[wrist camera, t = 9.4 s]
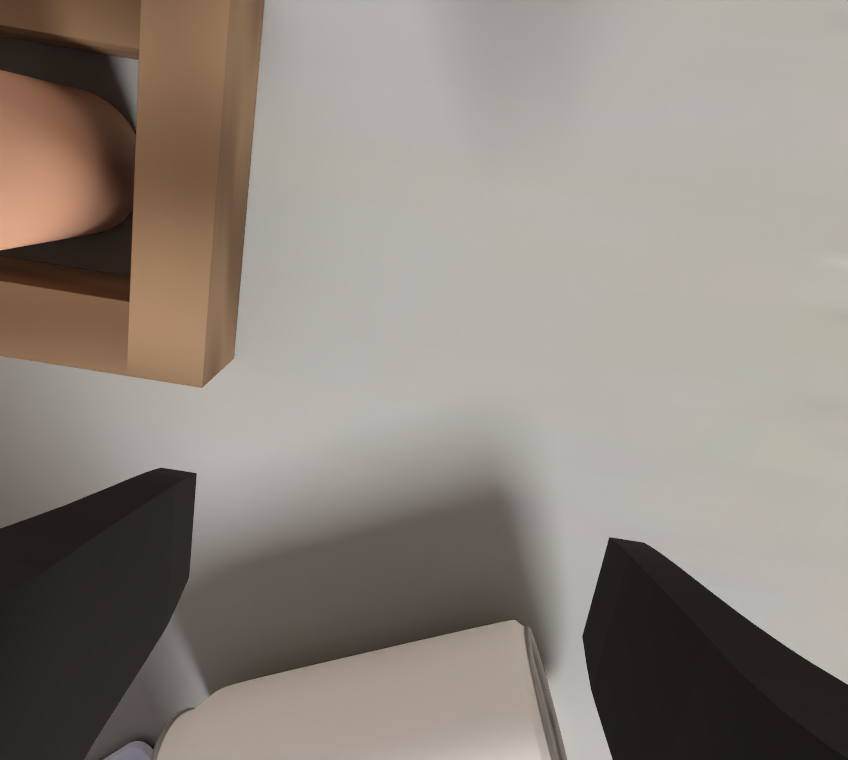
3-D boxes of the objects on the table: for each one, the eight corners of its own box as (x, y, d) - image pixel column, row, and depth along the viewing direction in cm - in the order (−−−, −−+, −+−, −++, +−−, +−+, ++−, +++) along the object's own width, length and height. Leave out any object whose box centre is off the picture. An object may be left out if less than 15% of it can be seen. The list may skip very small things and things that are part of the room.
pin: (73, 261, 20) (-102, 305, 14) (-27, 147, 19) (-267, 133, 13) (173, 178, 20) (39, 180, 13) (74, 55, 19) (-125, -11, 12)
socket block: (233, 358, 21) (201, 387, 18) (-95, 305, 21) (-179, 326, 18) (264, 0, 18) (232, -32, 15) (-117, -68, 18) (-222, -114, 15)
